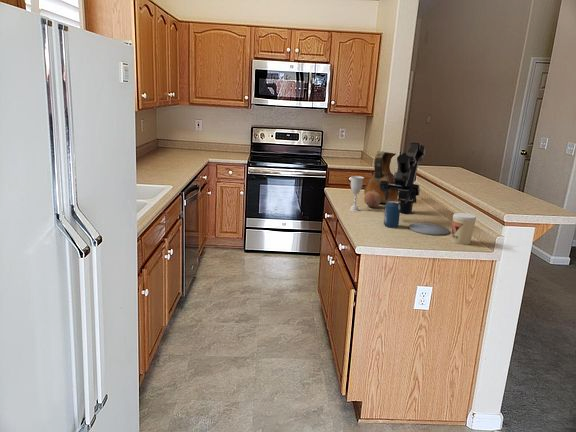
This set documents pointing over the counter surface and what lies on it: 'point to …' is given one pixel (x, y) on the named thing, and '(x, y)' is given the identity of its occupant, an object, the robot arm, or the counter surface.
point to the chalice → (356, 189)
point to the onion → (372, 198)
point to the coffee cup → (462, 228)
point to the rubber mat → (429, 229)
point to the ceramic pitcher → (382, 176)
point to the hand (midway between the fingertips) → (395, 201)
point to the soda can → (392, 214)
